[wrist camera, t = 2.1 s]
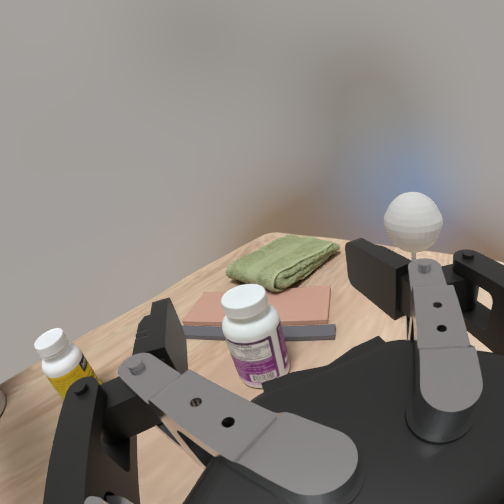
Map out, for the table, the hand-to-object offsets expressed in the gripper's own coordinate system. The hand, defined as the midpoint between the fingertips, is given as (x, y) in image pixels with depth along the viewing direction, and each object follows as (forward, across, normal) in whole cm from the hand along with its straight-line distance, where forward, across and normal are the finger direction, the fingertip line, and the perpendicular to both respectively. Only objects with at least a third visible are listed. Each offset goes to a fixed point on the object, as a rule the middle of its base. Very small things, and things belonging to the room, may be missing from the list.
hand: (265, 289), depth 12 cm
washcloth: (+34, -10, +15) cm, 38 cm away
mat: (+23, -1, +15) cm, 27 cm away
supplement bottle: (+13, +21, +16) cm, 29 cm away
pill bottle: (+12, 0, +16) cm, 20 cm away
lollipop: (+10, -17, +16) cm, 25 cm away
